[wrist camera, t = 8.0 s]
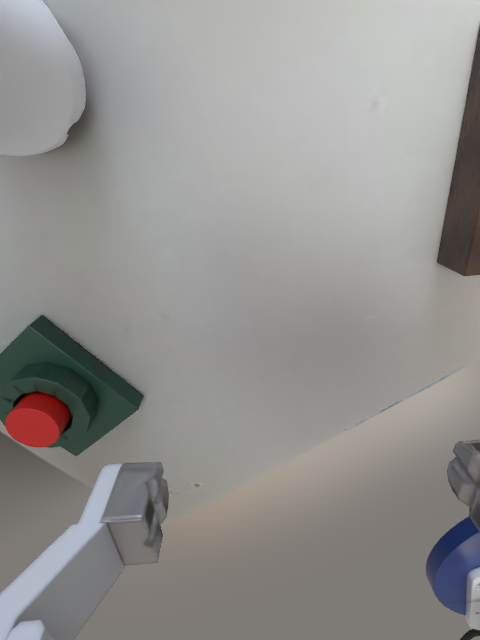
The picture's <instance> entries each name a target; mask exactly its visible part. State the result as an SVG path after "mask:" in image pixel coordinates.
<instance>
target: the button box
mask: <svg viewBox="0 0 480 640" xmlns="http://www.w3.org/2000/svg"><path fill="white" fill-rule="evenodd" d="M34 392H43V393H47V394H51V395H54V396H55V397H57V398H58V399H60V400H61V401H63V402H64V403H65V404H66V405H67V406H68V408H69V410H70V414H71V416H70V420H69V422H68V424H67V426H66V427H65V429H64V430H63V432H62V433H61V435H60V437H59V438H58V440H57V441H56V442H55V443H53V444H52V445H49V446H46V447H50V448H51V447H58V446H61V447H62V448H64V449H66V450H67V451H69V452H70V453H72V454H73V455H75V456H77V455H79V454H80V453H81V452H83V451H84V450H85V449H87V448H88V447H89V446H91V445H92V444H93V443H95V442H96V441H97V440H99V439H100V438H101V437H102V436H104V435H105V434H106V433H108V432H109V431H110V430H112V429H113V428H114V427H116V426H117V425H118V424H120V423H121V422H122V421H124V420H125V419H126V418H128V417H129V416H130V415H132V414H133V413H134V412H135V411H137V410H138V409H139V406H140V403H141V401H142V398H143V395H142V394H140V393H139V392H138V391H137V390H135V389H134V388H133V387H132V386H130V385H129V384H128V383H127V382H125V381H124V380H123V379H121V378H120V377H119V376H118V375H116V374H115V373H114V372H113V371H111V370H110V369H109V368H108V367H106V366H105V365H104V364H103V363H101V362H100V361H99V360H98V359H96V358H95V357H94V356H92V355H91V354H90V353H89V352H87V351H86V350H85V349H84V348H82V347H81V346H80V345H79V344H77V343H76V342H75V341H74V340H72V339H71V338H70V337H68V336H67V335H66V334H65V333H63V332H62V331H61V330H60V329H58V328H57V327H56V326H55V325H53V324H52V323H51V322H50V321H48V320H47V319H46V318H45V317H43V316H40V317H39V318H38V319H36V320H35V321H34V322H33V323H31V324H30V325H29V326H28V327H27V328H26V329H25V330H24V331H23V332H22V333H21V334H20V335H19V336H18V337H17V338H16V339H15V340H14V341H13V342H12V343H11V344H10V345H9V346H8V347H7V348H6V349H5V350H4V351H3V352H2V353H1V354H0V420H1V421H2V422H3V424H4V425H5V420H6V417H7V415H8V414H9V413H10V412H11V411H12V410H13V409H14V407H15V406H16V405H17V404H18V403H19V402H20V401H21V400H22V399H23V397H25V396H26V395H28V394H30V393H34ZM5 427H6V426H5Z"/></svg>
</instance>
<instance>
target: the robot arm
mask: <svg viewBox="0 0 480 640" xmlns="http://www.w3.org/2000/svg"><path fill="white" fill-rule="evenodd" d="M453 452H454V453H455V455H456V456H457V457H455V458H454V459H453V460H452V461H451V462H449V466H448V470H447V474H448V480H449V483H450V486H451V488H452V490H453V492H454V493H455V495H456V496H457V498H458V499H459V500H460V501H461V502H463V503H464V504H466V505H467V506H469V507H470V510H469V516H470V518H471V519H472V521H473V522H474V524H475V525H476V527H477V528H478V530H479V531H480V440H471V441H460V442H458V443H457V444H456V445H455V447H454V449H453ZM163 471H164V470H163V467H162V464H161V462H145V463H122V464H106V465H105V466H104V467H103V468H102V469H101V471H100V473H99V476H98V478H97V480H96V483H95V485H94V487H93V490H92V492H91V494H90V497H89V499H88V501H87V504H86V506H85V508H84V511H83V513H82V515H81V518H80V520H79V522H78V524H75V525H71V526H70V527H69V528H68V529H67V530H66V531H65V532H64V533H63V534H62V535H61V536H60V537H59V538H58V539H57V540H56V541H55V542H53V543H52V544H51V545H50V546H49V547H48V548H47V549H46V550H45V551H44V552H43V553H42V554H41V555H40V556H39V557H38V558H37V559H36V560H35V561H34V562H32V563H31V564H30V565H29V566H28V567H27V568H26V569H25V570H24V571H23V572H22V573H21V574H20V575H19V576H18V577H17V578H16V579H15V580H14V581H13V582H12V583H11V584H9V585H8V586H7V587H6V588H5V589H4V590H3V591H2V592H1V593H0V640H74V639H75V638H76V636H77V635H78V634H79V632H80V631H81V629H82V628H83V627H84V625H85V624H86V622H87V621H88V620H89V618H90V617H91V615H92V614H93V612H94V611H95V610H96V608H97V607H98V605H99V604H100V603H101V601H102V600H103V598H104V597H105V595H106V594H107V592H108V591H109V590H110V588H111V587H112V585H113V584H114V583H115V581H116V580H117V578H118V577H119V575H120V574H121V573H122V571H123V570H124V568H125V567H124V566H127V565H138V564H148V563H157V562H158V558H159V553H160V548H161V542H162V537H163V534H162V530H161V527H160V525H161V523H162V522H163V521H164V520H165V519H166V516H167V510H168V498H169V494H168V486H167V481H166V480H164V479H163V478H162V475H163ZM465 618H466V622H467V623H468V625H469V626H470V628H473V629H472V630H469V631H468V632H467V633H466V634H465V635H464V636H463V637H462V638H461V639H460V640H470V639H472V638H473V637H475V636H480V567H478V568H475V569H473V570H471V571H470V572H468V574H467V588H466V617H465Z"/></svg>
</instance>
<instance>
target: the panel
mask: <svg viewBox="0 0 480 640" xmlns="http://www.w3.org/2000/svg"><path fill="white" fill-rule="evenodd" d="M437 263H439V264H441V265H443V266H445V267H447V268H449V269H451V270H453V271H455V272H457V273H459V274H461V275H463V276H470V275H480V30H479V35H478V41H477V46H476V52H475V57H474V63H473V68H472V74H471V79H470V85H469V90H468V96H467V101H466V107H465V112H464V118H463V123H462V129H461V134H460V139H459V145H458V150H457V156H456V161H455V167H454V172H453V178H452V183H451V189H450V194H449V200H448V205H447V211H446V216H445V222H444V227H443V233H442V238H441V244H440V249H439V255H438V260H437Z"/></svg>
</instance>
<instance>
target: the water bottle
mask: <svg viewBox="0 0 480 640" xmlns="http://www.w3.org/2000/svg"><path fill="white" fill-rule="evenodd" d="M85 103H86V86H85V80H84V75H83V70H82V66H81V63H80V60H79V58H78V56H77V54H76V52H75V50H74V48H73V47H72V45H71V43H70V42H69V40H68V39H67V37H66V35H65V34H64V32H63V31H62V29H61V27H60V26H59V24H58V23H57V21H56V19H55V18H54V16H53V15H52V13H51V11H50V10H49V8H48V7H47V6H46V5H45V4H44V3H43V2H42V1H41V0H0V155H8V156H31V155H37V154H43V153H46V152H48V151H50V150H53V149H55V148H57V147H59V146H61V145H62V144H64V142H65V141H66V140H67V137H68V136H69V135H68V134H67V132H68V130H69V129H70V127H71V126H72V125H73V124H74V123H75V122H77V121H78V120H79V119H80V117H81V115H82V113H83V111H84V109H85Z"/></svg>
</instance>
